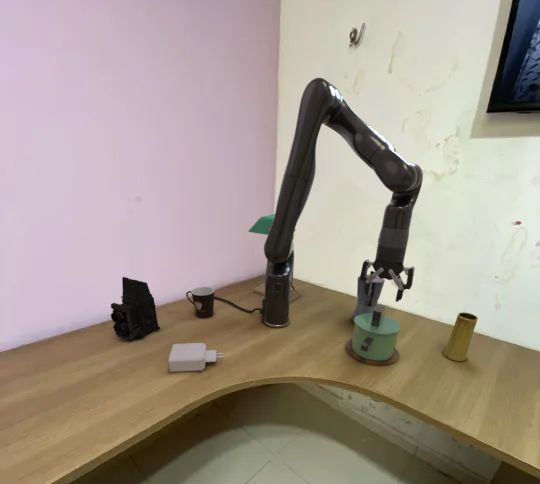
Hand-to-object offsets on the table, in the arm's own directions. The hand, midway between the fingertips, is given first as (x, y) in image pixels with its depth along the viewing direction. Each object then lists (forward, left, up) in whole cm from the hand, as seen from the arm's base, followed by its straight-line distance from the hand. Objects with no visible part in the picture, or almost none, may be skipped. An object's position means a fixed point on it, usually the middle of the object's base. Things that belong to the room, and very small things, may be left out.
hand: (382, 297), depth 92 cm
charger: (-42, -36, -19) cm, 58 cm away
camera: (-71, -35, -19) cm, 81 cm away
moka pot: (-8, +19, -19) cm, 28 cm away
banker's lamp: (-51, +24, -19) cm, 59 cm away
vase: (+23, +12, -19) cm, 32 cm away
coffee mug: (-64, -10, -19) cm, 67 cm away
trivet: (0, 0, -19) cm, 19 cm away
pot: (0, -3, -18) cm, 18 cm away
